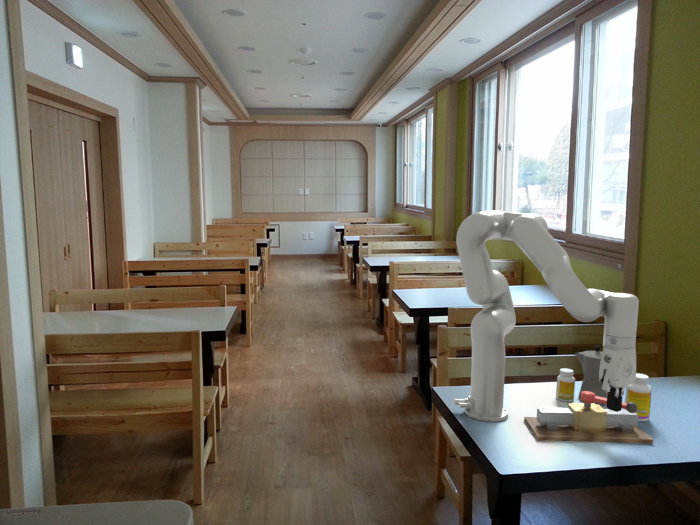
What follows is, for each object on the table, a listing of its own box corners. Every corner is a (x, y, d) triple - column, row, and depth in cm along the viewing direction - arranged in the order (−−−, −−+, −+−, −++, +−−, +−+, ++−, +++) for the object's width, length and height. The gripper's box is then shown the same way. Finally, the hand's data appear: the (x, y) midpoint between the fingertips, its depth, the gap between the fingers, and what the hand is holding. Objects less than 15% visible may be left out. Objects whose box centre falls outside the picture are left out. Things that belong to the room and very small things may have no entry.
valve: (541, 433, 149) (543, 410, 149) (534, 423, 156) (535, 401, 155) (639, 436, 148) (641, 413, 148) (628, 426, 155) (629, 404, 154)
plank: (537, 440, 146) (538, 436, 146) (524, 420, 159) (524, 416, 159) (652, 443, 145) (653, 439, 145) (629, 423, 158) (630, 419, 158)
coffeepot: (571, 402, 174) (575, 346, 172) (571, 392, 183) (575, 339, 180) (626, 410, 168) (630, 352, 166) (623, 399, 177) (627, 345, 175)
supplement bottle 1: (552, 396, 179) (554, 367, 178) (567, 395, 180) (569, 367, 179) (562, 402, 174) (564, 373, 172) (577, 401, 175) (579, 372, 174)
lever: (578, 406, 151) (579, 392, 151) (582, 402, 154) (583, 388, 153) (634, 420, 142) (635, 405, 141) (638, 416, 144) (639, 401, 144)
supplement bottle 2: (652, 423, 158) (656, 380, 157) (627, 421, 160) (630, 378, 158) (645, 414, 165) (648, 373, 163) (621, 412, 166) (624, 371, 165)
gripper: (617, 348, 135) (611, 420, 137) (648, 340, 143) (643, 408, 145) (588, 341, 141) (584, 410, 143) (620, 334, 149) (615, 399, 151)
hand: (613, 409), depth 144 cm, fingers closed
